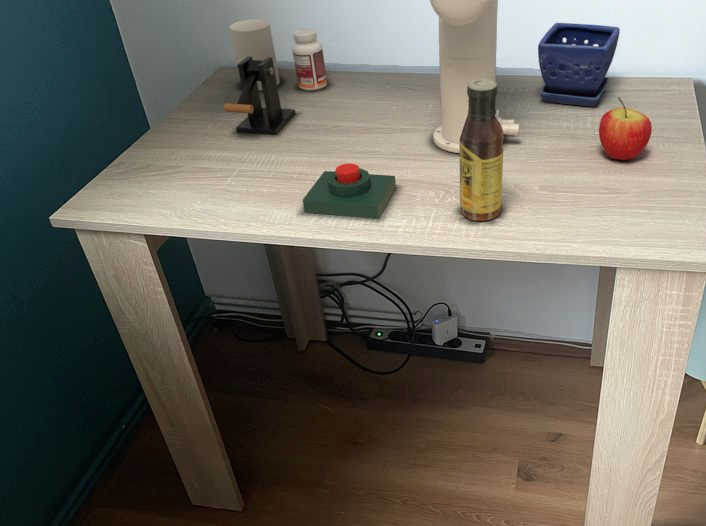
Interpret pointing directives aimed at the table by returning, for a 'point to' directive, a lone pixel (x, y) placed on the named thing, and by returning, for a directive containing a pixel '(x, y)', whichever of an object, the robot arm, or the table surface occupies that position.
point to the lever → (246, 91)
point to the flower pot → (576, 62)
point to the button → (348, 173)
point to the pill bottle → (309, 60)
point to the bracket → (272, 115)
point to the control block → (350, 195)
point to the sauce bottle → (481, 154)
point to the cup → (253, 42)
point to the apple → (624, 132)
